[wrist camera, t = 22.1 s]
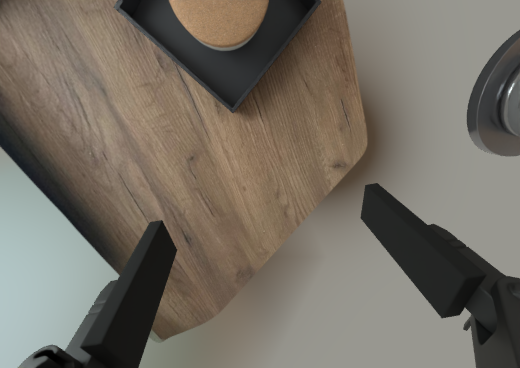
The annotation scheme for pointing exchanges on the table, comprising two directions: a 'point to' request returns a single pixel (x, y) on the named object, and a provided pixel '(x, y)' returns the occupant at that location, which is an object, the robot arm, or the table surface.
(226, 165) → the table surface
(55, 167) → the table surface
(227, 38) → the trinket box
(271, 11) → the tray
